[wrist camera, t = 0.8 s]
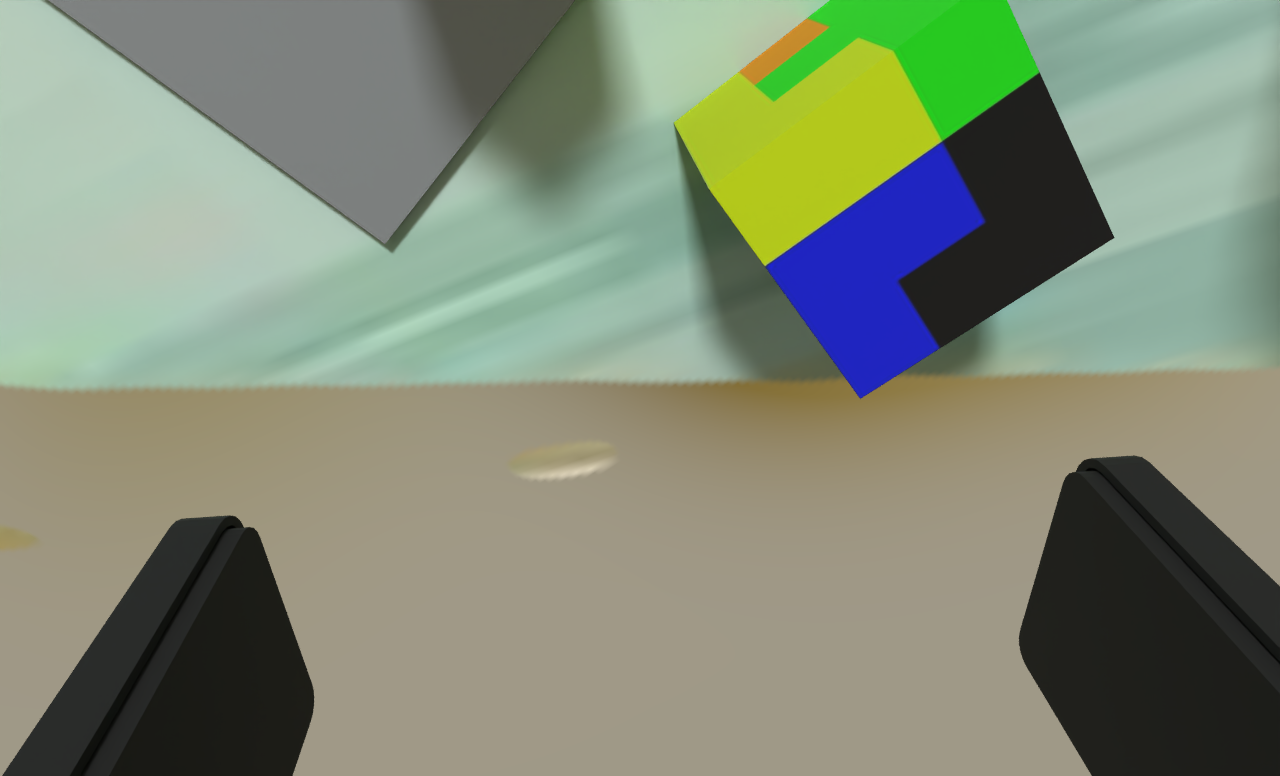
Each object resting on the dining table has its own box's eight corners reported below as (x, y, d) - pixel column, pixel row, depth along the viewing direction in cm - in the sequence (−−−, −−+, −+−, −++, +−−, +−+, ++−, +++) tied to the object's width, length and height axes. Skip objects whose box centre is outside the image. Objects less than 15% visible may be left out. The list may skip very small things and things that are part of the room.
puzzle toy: (794, 292, 38) (860, 398, 30) (673, 122, 34) (708, 188, 25) (983, 163, 36) (1114, 237, 27) (878, -39, 32) (995, -26, 23)
